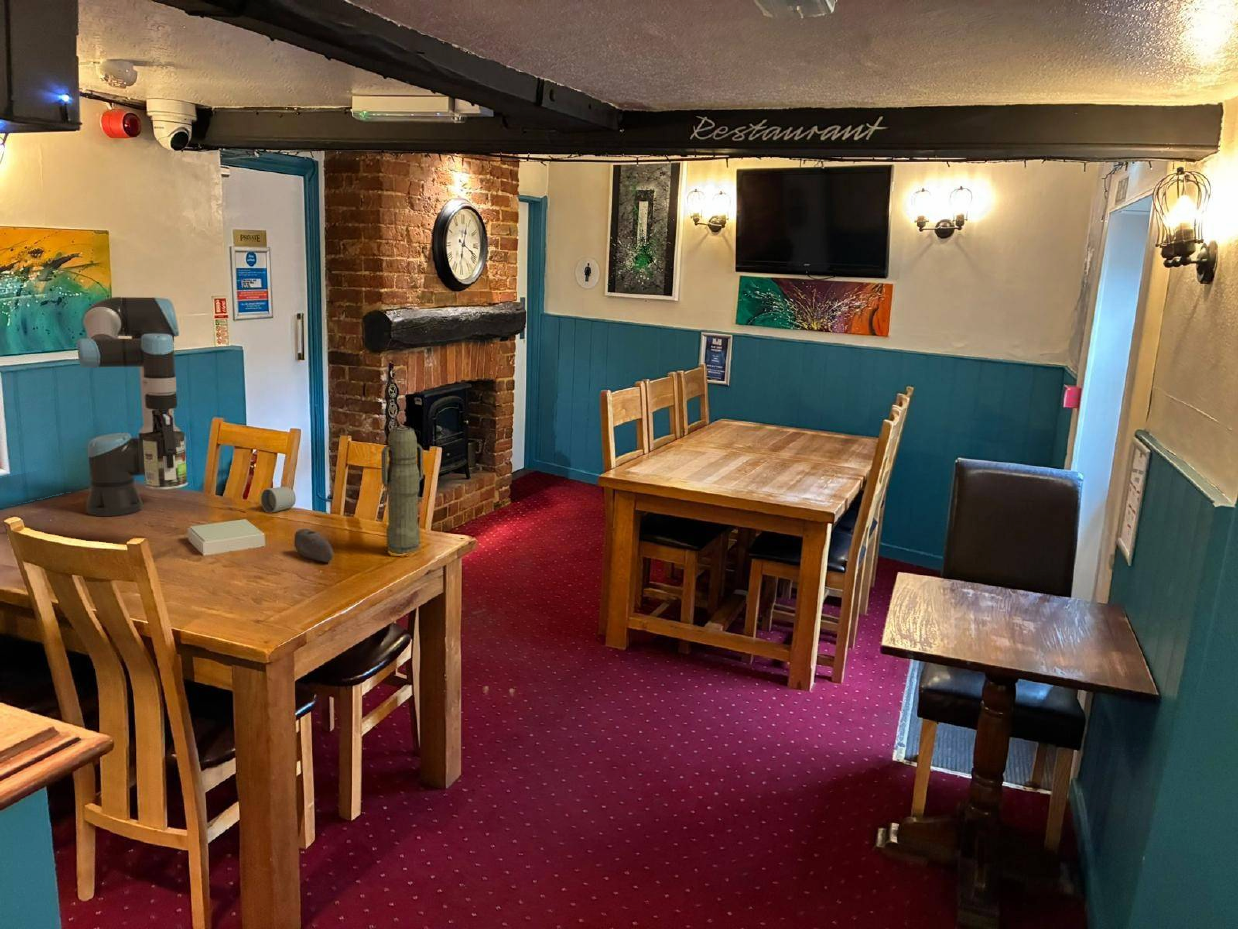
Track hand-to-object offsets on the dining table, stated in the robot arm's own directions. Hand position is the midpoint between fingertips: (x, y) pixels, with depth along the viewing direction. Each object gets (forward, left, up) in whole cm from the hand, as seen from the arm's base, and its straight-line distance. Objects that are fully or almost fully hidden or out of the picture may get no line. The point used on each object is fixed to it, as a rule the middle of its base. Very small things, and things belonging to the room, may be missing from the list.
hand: (166, 475), depth 244 cm
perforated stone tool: (+29, +29, -20) cm, 46 cm away
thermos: (+36, +51, -20) cm, 66 cm away
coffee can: (0, 0, -3) cm, 3 cm away
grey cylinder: (-23, +36, -20) cm, 47 cm away
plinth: (+4, +13, -20) cm, 24 cm away
